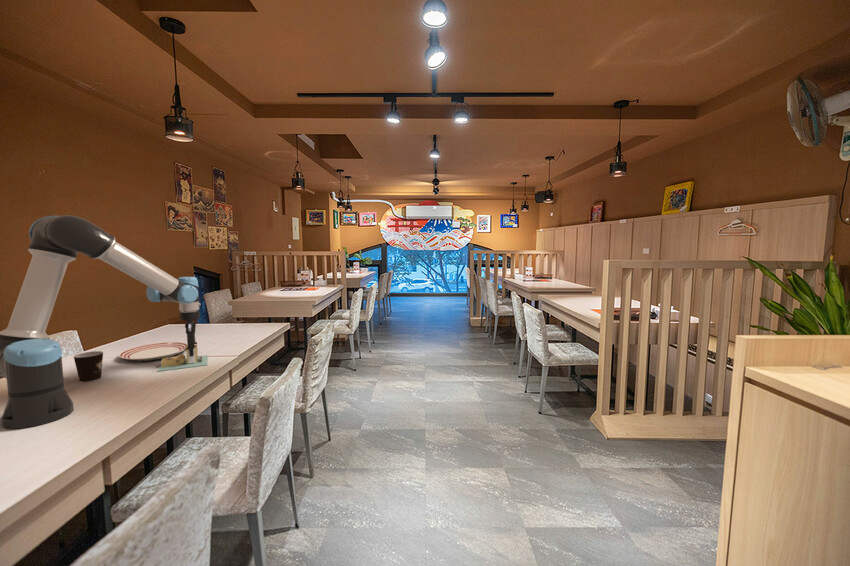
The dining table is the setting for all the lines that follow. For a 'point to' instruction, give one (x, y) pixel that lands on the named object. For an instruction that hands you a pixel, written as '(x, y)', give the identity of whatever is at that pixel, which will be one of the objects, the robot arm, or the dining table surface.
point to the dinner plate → (153, 351)
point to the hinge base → (204, 359)
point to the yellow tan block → (195, 354)
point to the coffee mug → (89, 365)
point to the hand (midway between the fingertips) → (192, 360)
